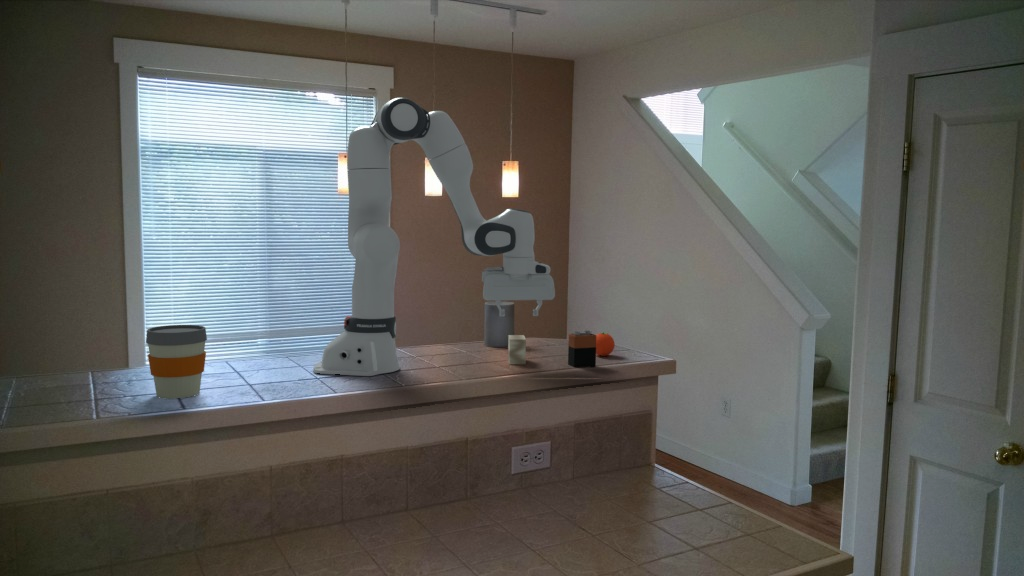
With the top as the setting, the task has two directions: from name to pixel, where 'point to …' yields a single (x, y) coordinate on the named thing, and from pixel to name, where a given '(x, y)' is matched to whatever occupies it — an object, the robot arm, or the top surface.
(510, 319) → the pillar candle
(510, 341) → the block
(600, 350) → the clementine
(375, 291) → the robot arm
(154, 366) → the reusable coffee cup
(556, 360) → the top surface
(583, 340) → the battery
